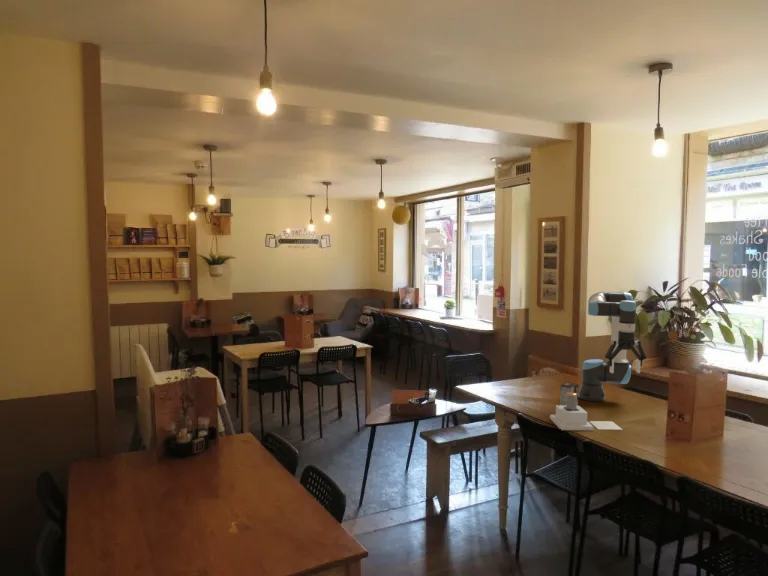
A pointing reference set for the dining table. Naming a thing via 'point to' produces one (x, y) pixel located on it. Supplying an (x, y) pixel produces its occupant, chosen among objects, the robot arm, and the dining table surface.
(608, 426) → the pad
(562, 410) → the housing
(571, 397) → the copper top metal cylinder
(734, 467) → the dining table surface
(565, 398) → the coffee box
